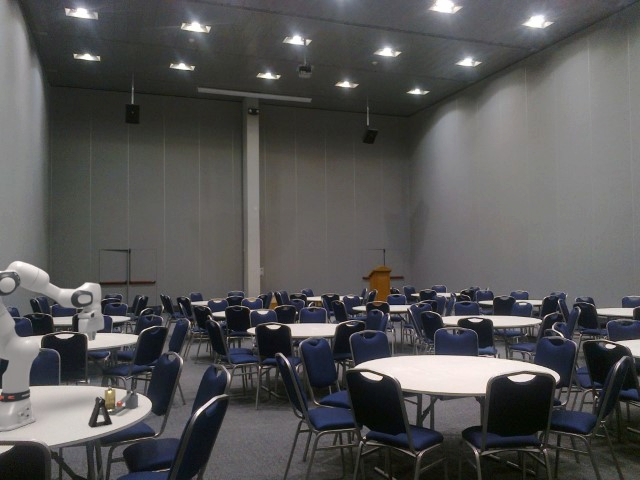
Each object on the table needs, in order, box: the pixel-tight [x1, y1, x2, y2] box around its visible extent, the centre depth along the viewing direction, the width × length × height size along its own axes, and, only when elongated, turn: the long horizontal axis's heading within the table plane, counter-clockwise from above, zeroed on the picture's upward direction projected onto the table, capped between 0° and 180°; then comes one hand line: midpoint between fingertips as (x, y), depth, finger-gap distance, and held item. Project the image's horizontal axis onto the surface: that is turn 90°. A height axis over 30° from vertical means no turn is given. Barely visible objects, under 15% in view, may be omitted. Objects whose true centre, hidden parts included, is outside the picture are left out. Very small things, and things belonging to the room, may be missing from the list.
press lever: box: [115, 390, 134, 407], centre depth 276 cm, size 17×3×3 cm, turn 176°
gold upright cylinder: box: [104, 386, 116, 410], centre depth 276 cm, size 5×5×10 cm
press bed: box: [98, 405, 126, 416], centre depth 275 cm, size 12×10×1 cm
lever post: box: [124, 389, 139, 410], centre depth 283 cm, size 4×5×9 cm
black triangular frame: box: [88, 396, 113, 429], centre depth 254 cm, size 9×6×12 cm, turn 125°
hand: (91, 340), depth 290 cm, fingers closed
